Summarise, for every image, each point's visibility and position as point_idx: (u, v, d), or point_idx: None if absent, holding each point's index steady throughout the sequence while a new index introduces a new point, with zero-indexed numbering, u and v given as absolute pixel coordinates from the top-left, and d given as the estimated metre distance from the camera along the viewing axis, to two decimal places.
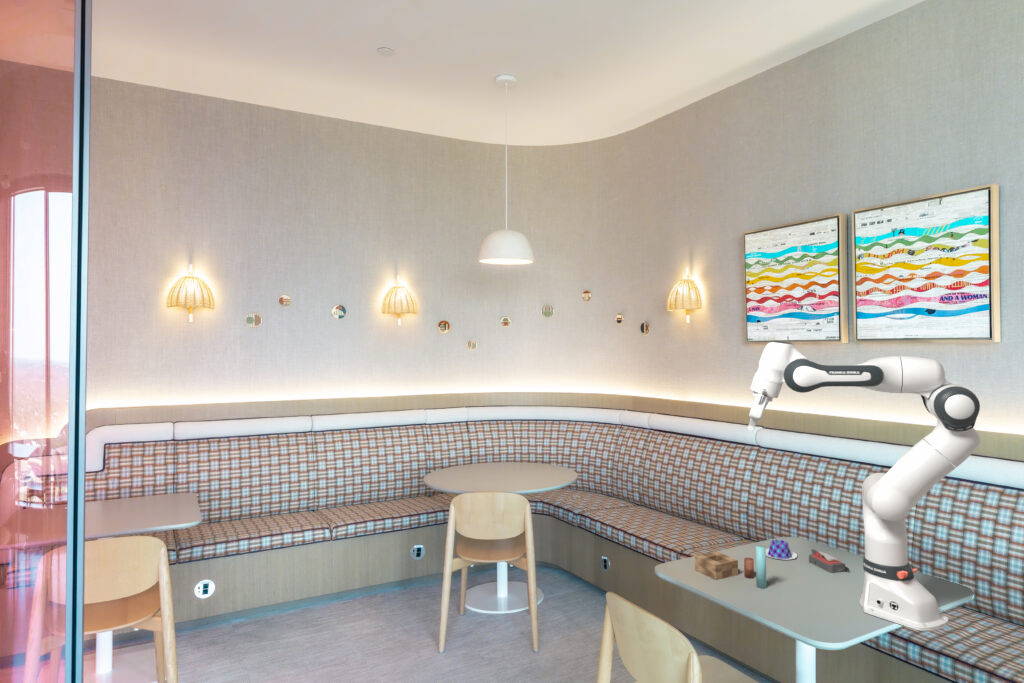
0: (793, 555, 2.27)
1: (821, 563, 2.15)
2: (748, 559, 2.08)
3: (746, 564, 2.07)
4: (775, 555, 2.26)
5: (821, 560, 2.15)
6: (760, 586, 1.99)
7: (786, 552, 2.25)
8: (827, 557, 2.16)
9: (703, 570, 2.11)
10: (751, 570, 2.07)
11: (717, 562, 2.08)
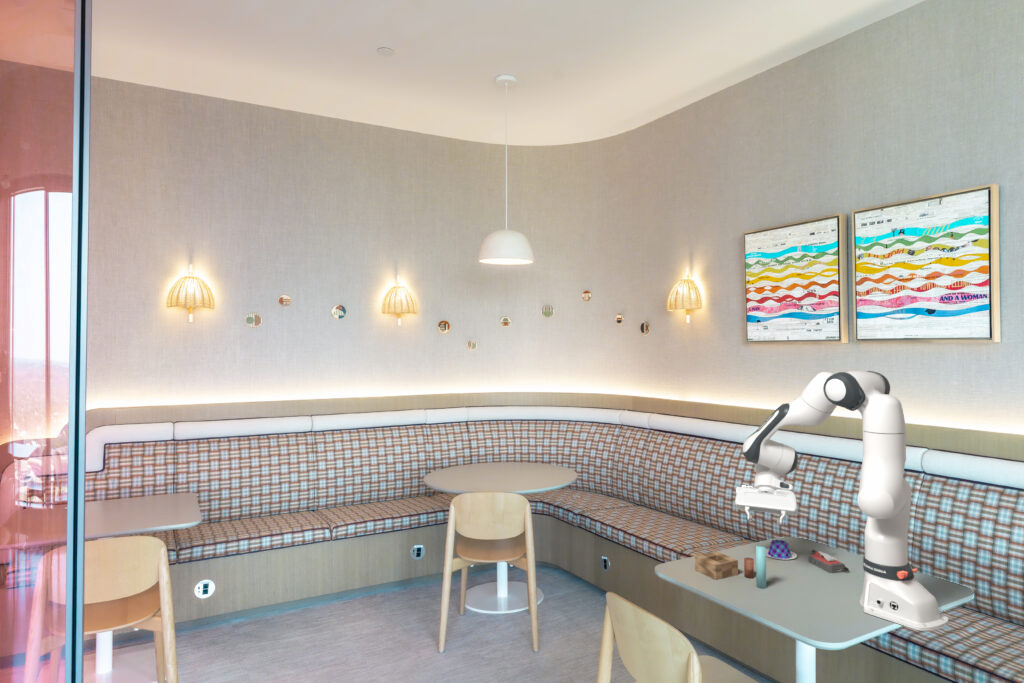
0: (793, 555, 2.27)
1: (821, 563, 2.14)
2: (748, 559, 2.08)
3: (746, 564, 2.07)
4: (775, 555, 2.26)
5: (821, 560, 2.15)
6: (760, 586, 1.99)
7: (786, 552, 2.25)
8: (827, 557, 2.15)
9: (703, 570, 2.11)
10: (751, 570, 2.07)
11: (717, 562, 2.08)
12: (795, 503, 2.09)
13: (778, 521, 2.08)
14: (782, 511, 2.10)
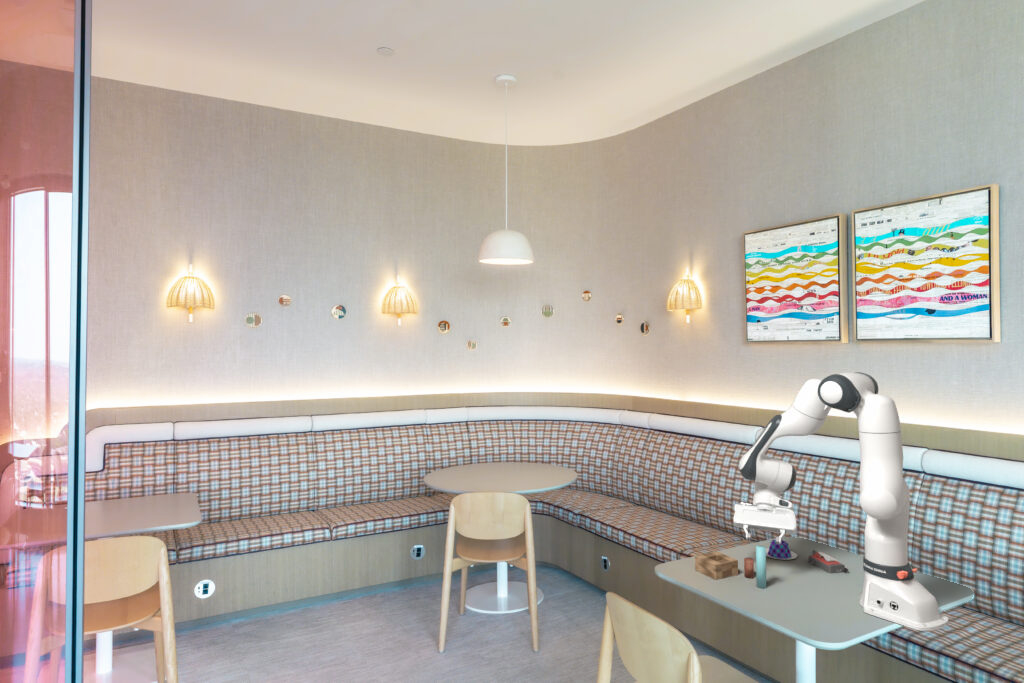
0: (793, 555, 2.27)
1: (820, 564, 2.14)
2: (748, 559, 2.08)
3: (746, 564, 2.07)
4: (774, 555, 2.26)
5: (820, 561, 2.15)
6: (760, 586, 1.99)
7: (785, 552, 2.25)
8: (826, 558, 2.15)
9: (703, 570, 2.11)
10: (751, 570, 2.07)
11: (717, 562, 2.08)
12: (795, 522, 2.04)
13: (777, 540, 2.03)
14: (781, 530, 2.05)
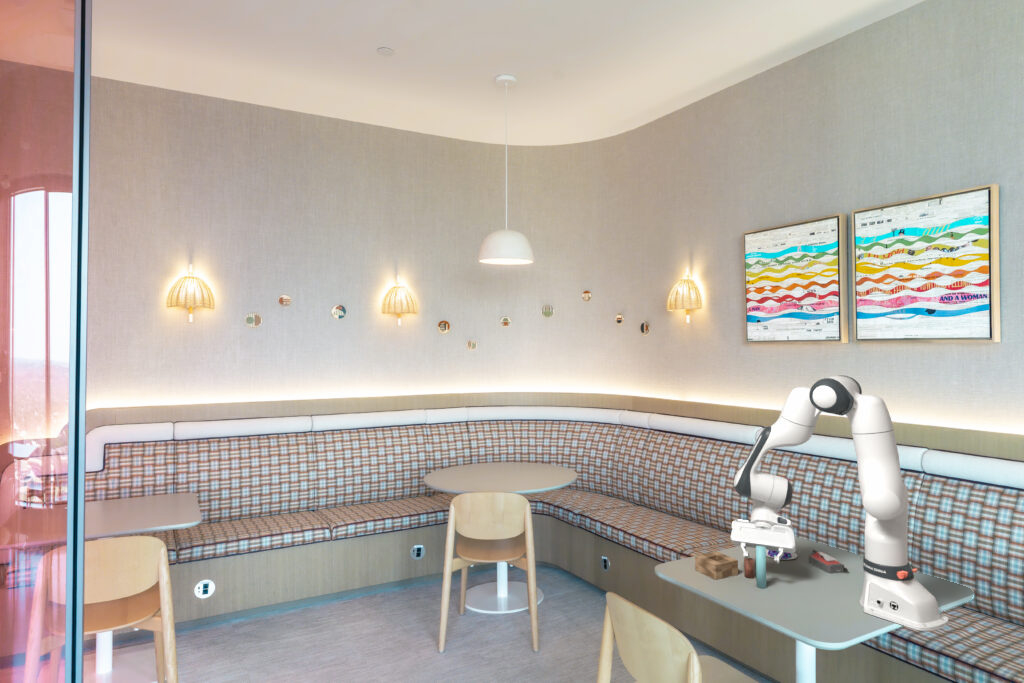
0: (793, 555, 2.27)
1: (820, 564, 2.14)
2: (748, 559, 2.08)
3: (746, 564, 2.07)
4: (774, 555, 2.26)
5: (820, 560, 2.15)
6: (760, 586, 1.99)
7: (785, 552, 2.25)
8: (826, 558, 2.15)
9: (703, 570, 2.11)
10: (751, 570, 2.07)
11: (717, 562, 2.08)
12: (793, 540, 1.99)
13: (775, 559, 1.98)
14: (780, 548, 2.00)
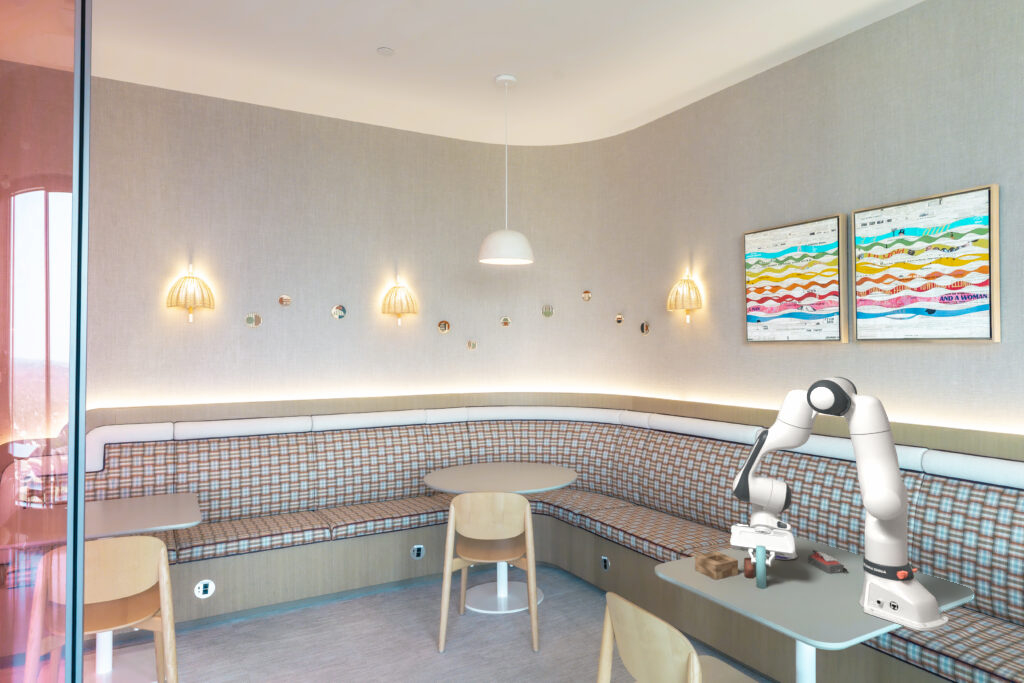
0: None
1: (819, 564, 2.14)
2: (748, 559, 2.08)
3: (746, 564, 2.07)
4: None
5: (819, 561, 2.15)
6: (760, 586, 1.99)
7: None
8: (826, 558, 2.15)
9: (703, 570, 2.11)
10: (751, 570, 2.07)
11: (717, 562, 2.08)
12: (793, 545, 1.98)
13: (767, 563, 1.98)
14: (771, 552, 2.00)
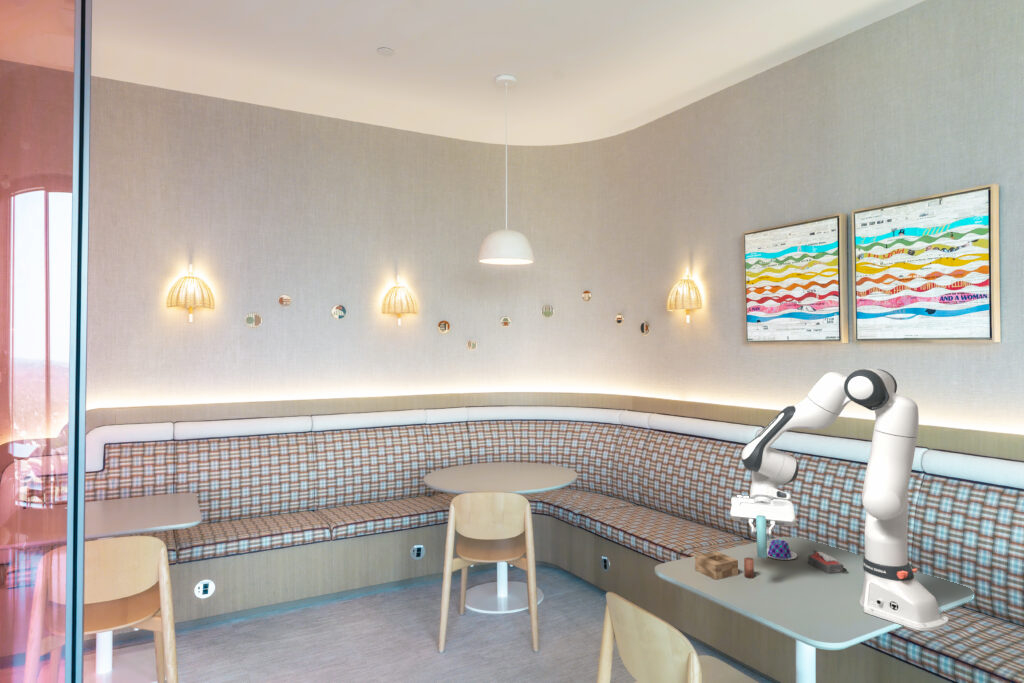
0: (793, 556, 2.27)
1: (819, 564, 2.14)
2: (748, 559, 2.08)
3: (746, 564, 2.07)
4: (773, 555, 2.26)
5: (819, 561, 2.15)
6: (761, 556, 1.98)
7: (785, 552, 2.25)
8: (826, 558, 2.15)
9: (703, 570, 2.11)
10: (751, 570, 2.07)
11: (717, 562, 2.08)
12: (793, 513, 1.98)
13: (767, 532, 1.98)
14: (771, 521, 2.00)
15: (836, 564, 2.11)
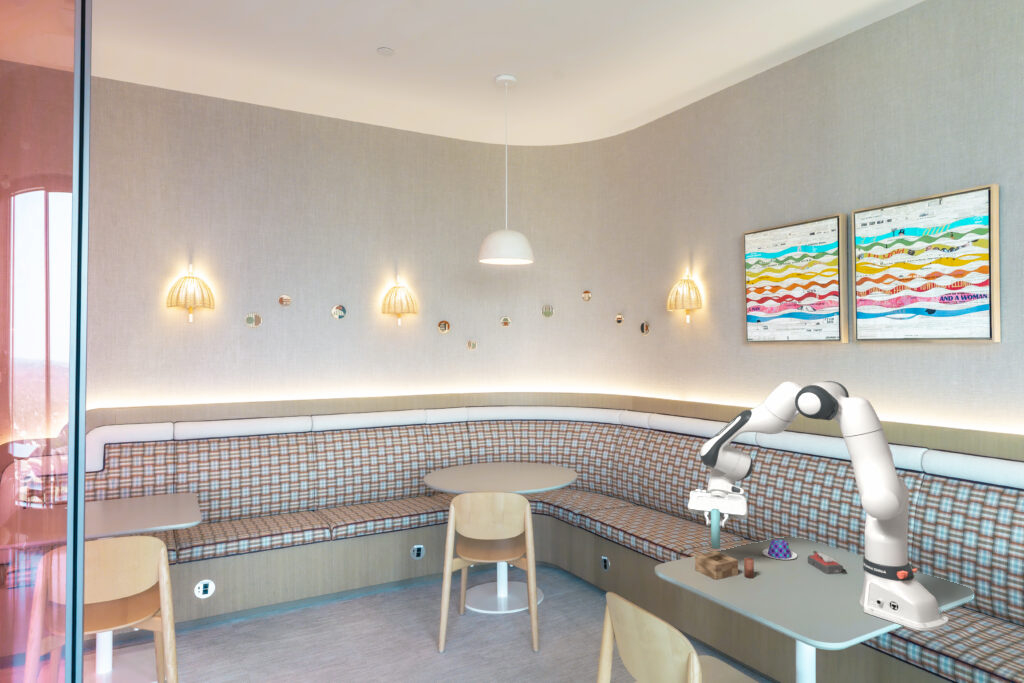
0: (793, 556, 2.26)
1: (818, 564, 2.14)
2: (748, 559, 2.08)
3: (746, 564, 2.07)
4: (773, 554, 2.27)
5: (818, 561, 2.15)
6: (714, 546, 2.11)
7: (784, 552, 2.25)
8: (825, 558, 2.15)
9: (703, 570, 2.11)
10: (751, 570, 2.07)
11: (717, 562, 2.08)
12: (745, 507, 2.11)
13: (720, 524, 2.11)
14: (725, 514, 2.13)
15: (835, 565, 2.10)
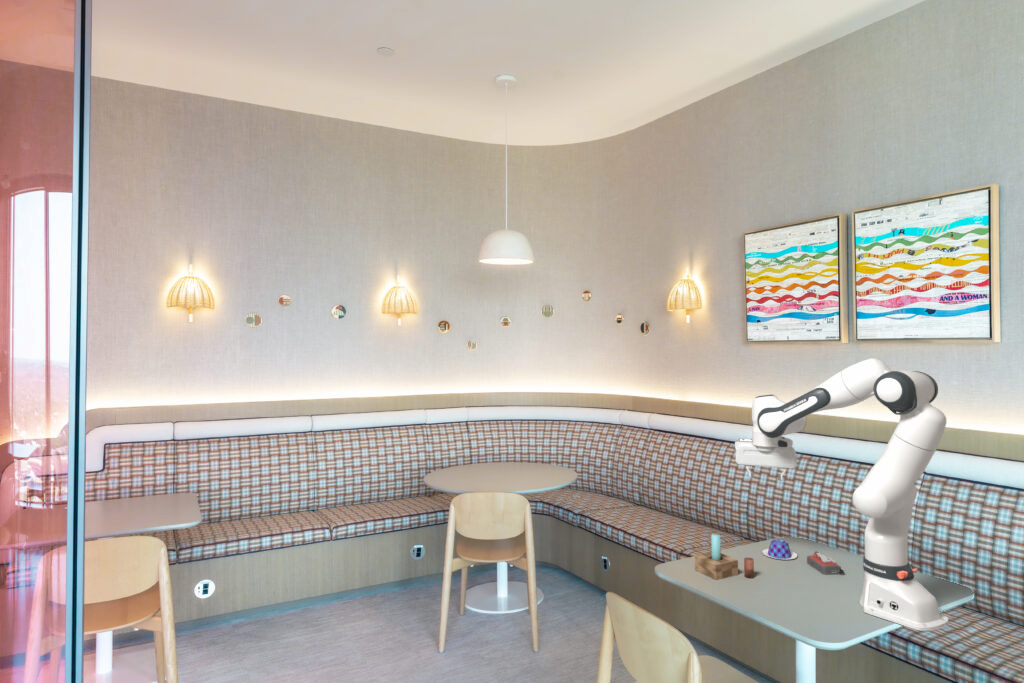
0: (793, 557, 2.26)
1: (816, 564, 2.13)
2: (748, 559, 2.08)
3: (746, 564, 2.07)
4: (772, 554, 2.27)
5: (817, 561, 2.14)
6: None
7: (782, 552, 2.25)
8: (823, 559, 2.14)
9: (703, 570, 2.11)
10: (751, 570, 2.07)
11: (717, 562, 2.08)
12: (794, 461, 2.11)
13: (779, 479, 2.14)
14: (782, 468, 2.14)
15: (833, 565, 2.10)
